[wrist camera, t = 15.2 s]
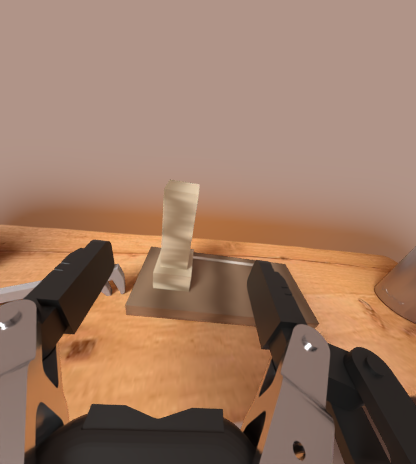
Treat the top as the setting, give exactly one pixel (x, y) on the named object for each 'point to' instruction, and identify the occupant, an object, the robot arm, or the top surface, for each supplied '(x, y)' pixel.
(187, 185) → the beige tall block
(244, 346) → the top surface
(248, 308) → the board
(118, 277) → the caliper
